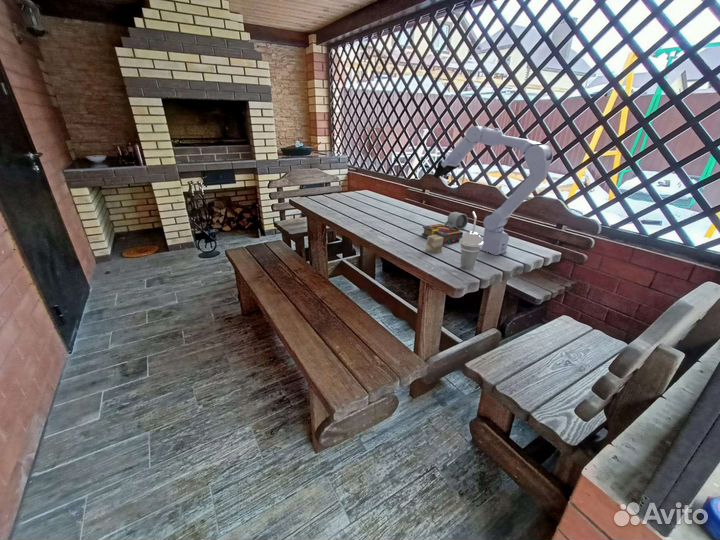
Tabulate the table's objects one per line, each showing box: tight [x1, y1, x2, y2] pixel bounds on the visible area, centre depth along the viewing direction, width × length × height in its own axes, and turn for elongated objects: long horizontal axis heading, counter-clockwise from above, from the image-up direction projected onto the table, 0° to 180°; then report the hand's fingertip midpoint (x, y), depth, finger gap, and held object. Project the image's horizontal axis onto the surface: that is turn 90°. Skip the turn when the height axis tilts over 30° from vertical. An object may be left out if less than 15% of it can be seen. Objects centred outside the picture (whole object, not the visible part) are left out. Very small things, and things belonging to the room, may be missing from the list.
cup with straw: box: [458, 211, 484, 271], centre depth 118 cm, size 8×9×20 cm
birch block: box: [425, 235, 444, 254], centre depth 136 cm, size 4×4×6 cm
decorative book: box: [421, 223, 464, 246], centre depth 151 cm, size 11×16×5 cm
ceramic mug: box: [443, 211, 469, 230], centre depth 166 cm, size 11×8×8 cm
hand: (439, 175), depth 146 cm, fingers open, 7 cm apart
